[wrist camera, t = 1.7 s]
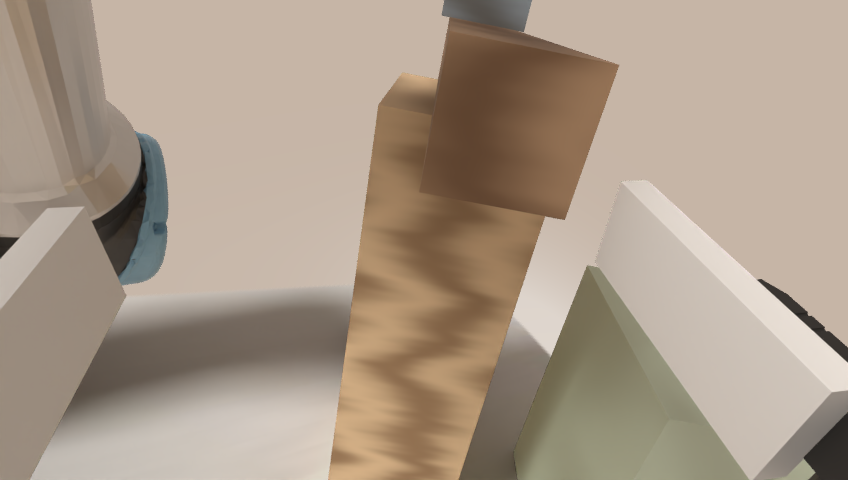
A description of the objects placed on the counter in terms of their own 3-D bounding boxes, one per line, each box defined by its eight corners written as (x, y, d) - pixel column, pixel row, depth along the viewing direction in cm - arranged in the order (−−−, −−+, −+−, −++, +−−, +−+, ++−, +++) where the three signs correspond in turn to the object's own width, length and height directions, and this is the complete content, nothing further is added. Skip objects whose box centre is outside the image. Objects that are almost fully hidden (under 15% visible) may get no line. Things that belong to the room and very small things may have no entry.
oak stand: (324, 508, 35) (378, 104, 21) (354, 390, 45) (402, 72, 32) (442, 528, 35) (569, 142, 22) (444, 406, 46) (529, 97, 32)
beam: (400, 188, 12) (479, -276, 8) (431, 74, 34) (458, -71, 30) (583, 222, 13) (745, -215, 8) (499, 87, 34) (534, -55, 30)
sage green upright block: (540, 637, 30) (669, 419, 21) (513, 451, 42) (587, 265, 33) (659, 656, 30) (838, 448, 21) (598, 466, 43) (694, 285, 34)
